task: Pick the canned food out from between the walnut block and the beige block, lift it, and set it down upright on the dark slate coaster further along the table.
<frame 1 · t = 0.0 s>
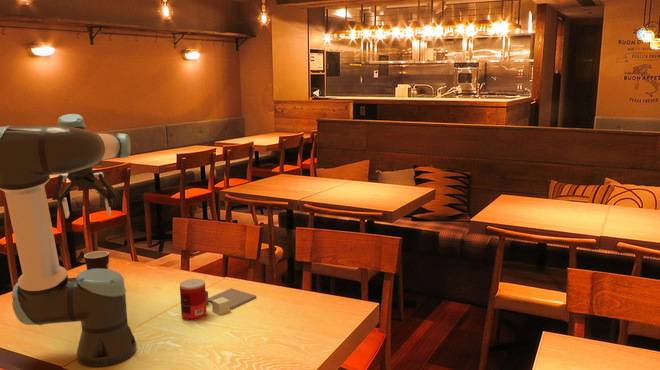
hand: (88, 215, 193), 28 cm above the table, tool tilted 20°, fingers open, 13 cm apart
canned food: (194, 316, 178), on the table
coffee mug: (101, 279, 210), on the table
beige block: (221, 312, 180), on the table
walnut block: (199, 305, 186), on the table
slate coaster: (231, 299, 190), on the table
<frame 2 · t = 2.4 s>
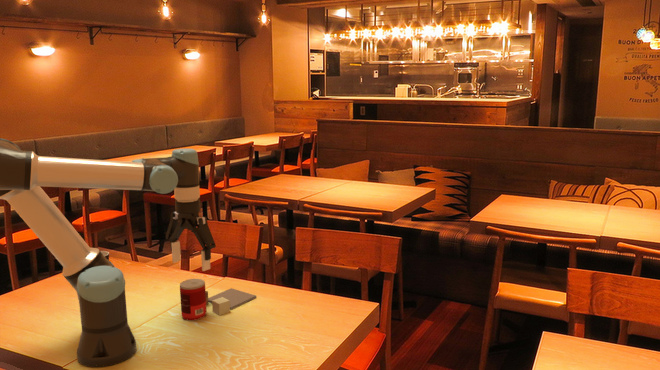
hand: (191, 265, 174), 17 cm above the table, tool pointing down, fingers open, 13 cm apart
nothing on the table moved.
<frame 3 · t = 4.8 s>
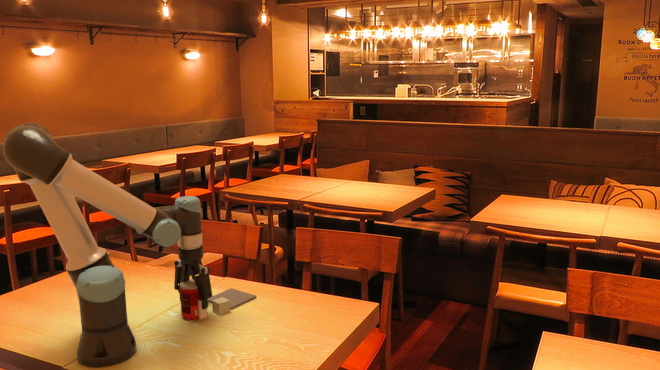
hand: (194, 314, 177), 0 cm above the table, tool pointing down, fingers closed on canned food, 8 cm apart
canned food: (194, 316, 178), on the table, touching gripper
everything else where it was.
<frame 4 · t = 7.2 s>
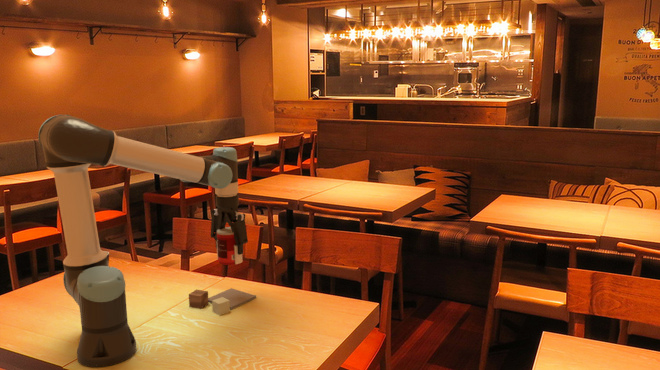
hand: (229, 260, 187), 14 cm above the table, tool pointing down, fingers closed on canned food, 8 cm apart
canned food: (229, 261, 187), point 13 cm above the table, touching gripper
everything else where it was.
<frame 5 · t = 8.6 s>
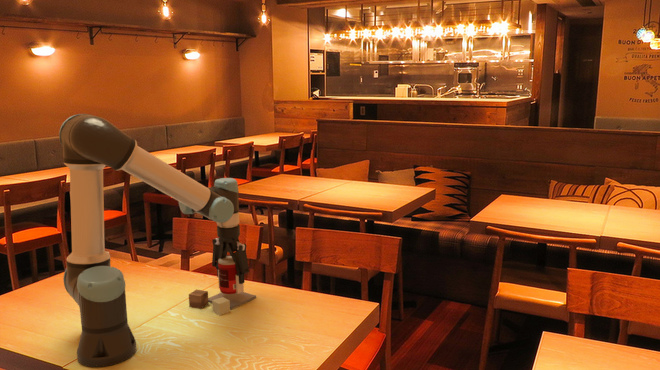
hand: (231, 289, 189), 4 cm above the table, tool pointing down, fingers closed on canned food, 8 cm apart
canned food: (231, 290, 189), point 3 cm above the table, touching gripper
everything else where it was.
when the fingers open (2 cm above the table, at t = 9.7 s): canned food drops 1 cm, resting on slate coaster.
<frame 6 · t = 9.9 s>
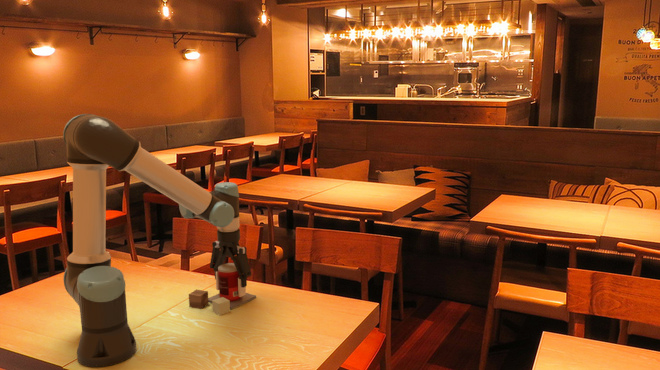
hand: (231, 292, 189), 3 cm above the table, tool pointing down, fingers open, 10 cm apart
canned food: (231, 297, 190), point 1 cm above the table, touching slate coaster
everything else where it was.
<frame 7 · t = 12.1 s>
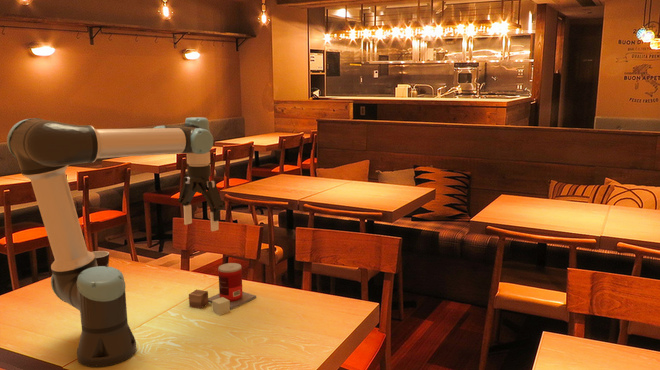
hand: (201, 227, 187), 25 cm above the table, tool pointing down, fingers open, 13 cm apart
nothing on the table moved.
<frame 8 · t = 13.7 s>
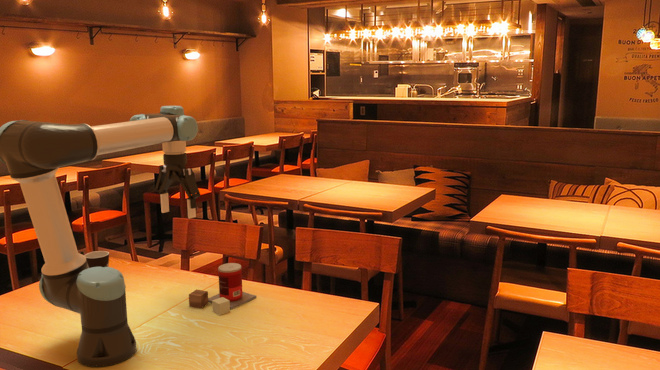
hand: (178, 214, 189), 29 cm above the table, tool pointing down, fingers open, 13 cm apart
nothing on the table moved.
at the end: canned food inside the target area on the slate coaster (0.1 cm from its centre), point 0.6 cm above the slate coaster's base; canned food tilted 0°; the gripper is holding nothing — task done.
